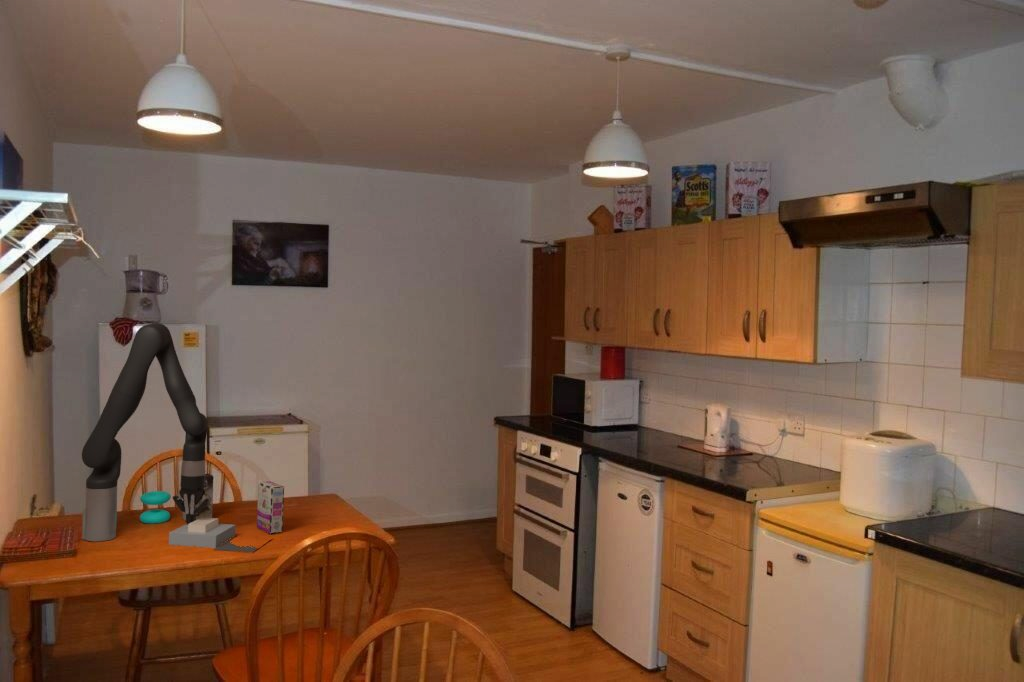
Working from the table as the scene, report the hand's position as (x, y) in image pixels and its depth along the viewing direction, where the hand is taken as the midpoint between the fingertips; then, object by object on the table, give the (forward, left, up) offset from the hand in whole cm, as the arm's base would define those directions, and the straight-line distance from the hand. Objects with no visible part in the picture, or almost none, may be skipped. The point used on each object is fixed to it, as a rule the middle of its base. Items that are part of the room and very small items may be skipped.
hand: (190, 524), depth 265 cm
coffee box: (-11, +25, -5) cm, 28 cm away
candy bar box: (+20, +17, -5) cm, 27 cm away
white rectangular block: (+4, 0, 0) cm, 5 cm away
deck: (+4, 0, -5) cm, 7 cm away
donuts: (-24, +19, -5) cm, 31 cm away
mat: (+19, -1, -5) cm, 20 cm away
